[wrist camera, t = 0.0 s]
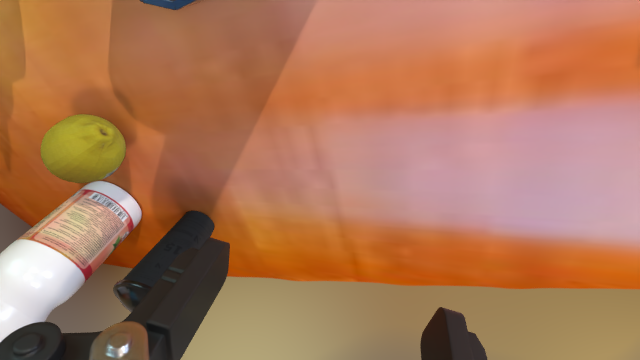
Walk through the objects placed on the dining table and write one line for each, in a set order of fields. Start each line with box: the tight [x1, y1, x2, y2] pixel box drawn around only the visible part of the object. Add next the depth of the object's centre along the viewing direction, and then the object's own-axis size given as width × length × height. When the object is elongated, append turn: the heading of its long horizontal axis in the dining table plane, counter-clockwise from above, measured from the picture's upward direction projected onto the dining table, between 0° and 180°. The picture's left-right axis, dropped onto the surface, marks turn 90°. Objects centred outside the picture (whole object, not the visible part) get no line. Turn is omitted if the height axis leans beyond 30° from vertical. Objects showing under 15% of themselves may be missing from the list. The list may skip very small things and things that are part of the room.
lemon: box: [41, 114, 126, 183], centre depth 38 cm, size 11×8×8 cm
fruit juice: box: [0, 181, 142, 342], centre depth 39 cm, size 9×9×28 cm
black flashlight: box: [113, 211, 214, 312], centre depth 41 cm, size 8×8×20 cm
